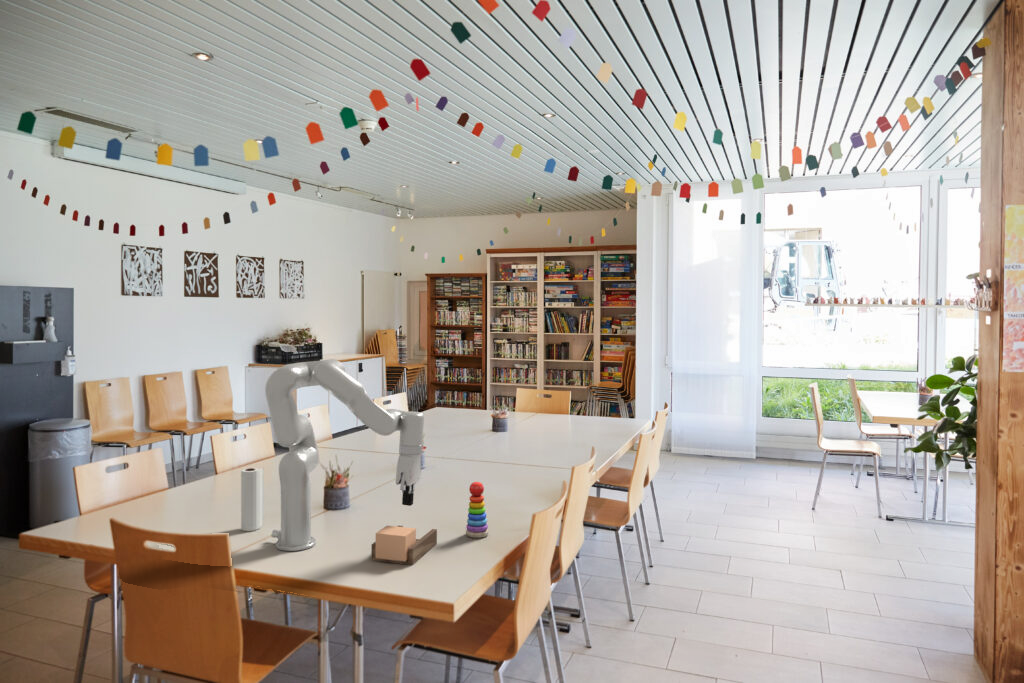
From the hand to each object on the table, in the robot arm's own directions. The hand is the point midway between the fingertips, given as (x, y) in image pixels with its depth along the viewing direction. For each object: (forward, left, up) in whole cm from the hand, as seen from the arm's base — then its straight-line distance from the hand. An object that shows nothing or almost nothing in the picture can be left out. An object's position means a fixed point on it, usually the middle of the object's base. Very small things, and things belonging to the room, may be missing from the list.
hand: (407, 504), depth 224 cm
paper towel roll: (-60, +1, -15) cm, 62 cm away
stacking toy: (+18, +19, -15) cm, 30 cm away
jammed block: (+1, -11, -13) cm, 17 cm away
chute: (+1, -4, -14) cm, 15 cm away
